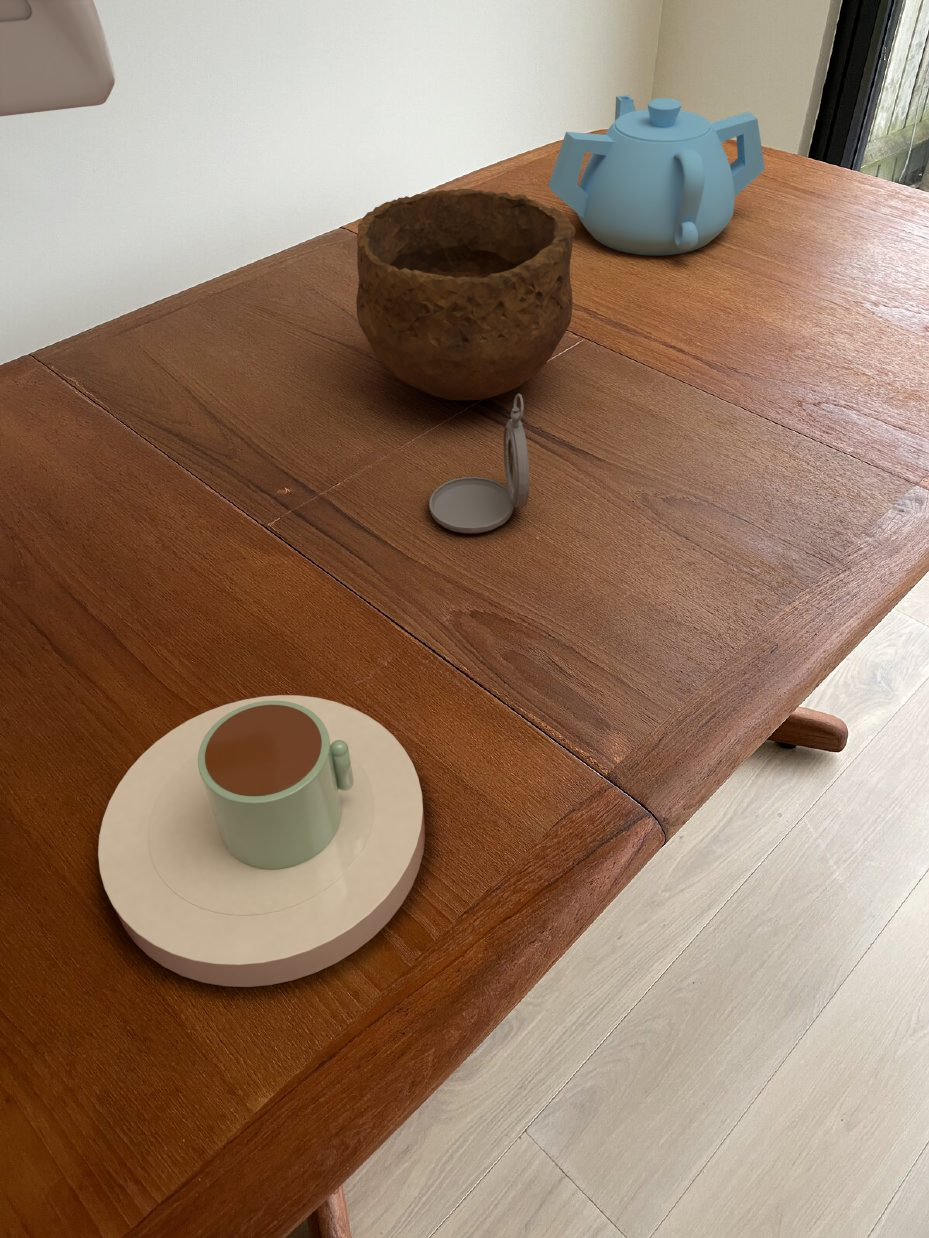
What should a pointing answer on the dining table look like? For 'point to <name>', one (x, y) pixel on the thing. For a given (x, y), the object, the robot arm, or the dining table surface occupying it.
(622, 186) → the teapot
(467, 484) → the pocket watch
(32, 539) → the dining table surface
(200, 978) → the plate
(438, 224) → the bowl
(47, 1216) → the dining table surface
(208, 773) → the teacup
